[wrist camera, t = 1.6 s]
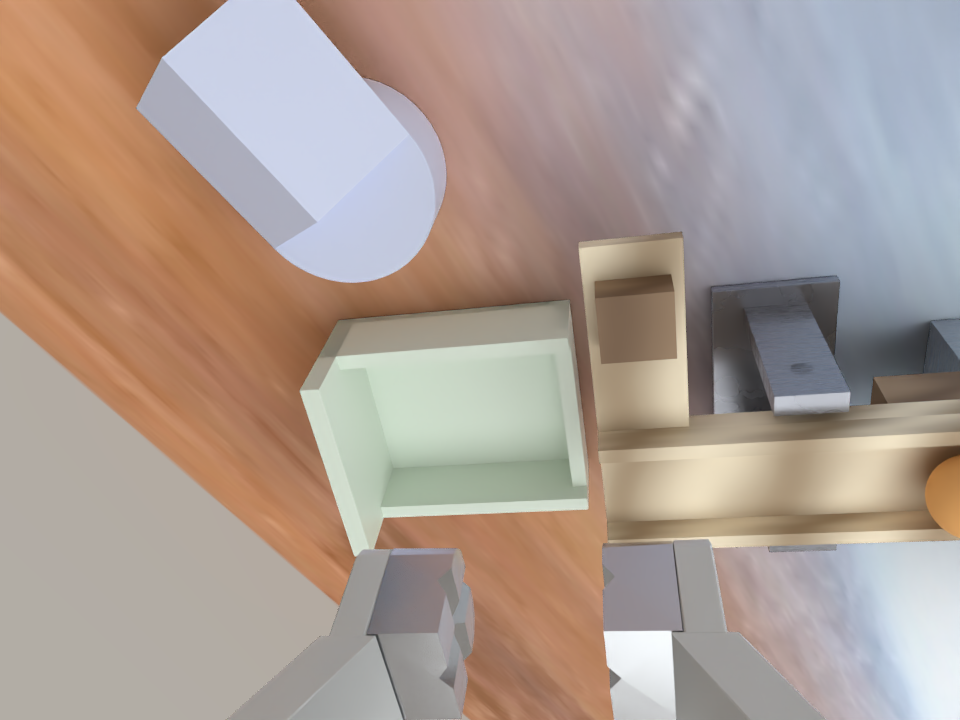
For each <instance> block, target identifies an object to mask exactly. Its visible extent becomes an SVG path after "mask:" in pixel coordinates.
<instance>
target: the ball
mask: <svg viewBox="0 0 960 720" xmlns="http://www.w3.org/2000/svg"><path fill="white" fill-rule="evenodd" d="M925 500H926V505H927V508H928V510H929V512H930V514H931V516H932V517H933V519H934V520H935V521H936V523H937V524H938V525H939V526H940V527H942V528H943V529H944V530H945V531H947V532H948V533H950V534H952V535H953V536H956V537H958V538H960V455H957V456H954V457H951V458H949V459H947V460H945V461H943V462H942V463H941V464H939V465H938V466H937V467H936V468H935V469H934V470H933V471H932V473H931V475H930V476H929V478H928V480H927V484H926V488H925Z"/></svg>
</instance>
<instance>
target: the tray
mask: <svg viewBox="0 0 960 720" xmlns="http://www.w3.org/2000/svg"><path fill="white" fill-rule="evenodd" d="M300 394H301V397H302V400H303V403H304V406H305V409H306V412H307V415H308V418H309V421H310V424H311V427H312V430H313V433H314V436H315V439H316V442H317V445H318V448H319V451H320V454H321V457H322V460H323V463H324V466H325V469H326V472H327V475H328V478H329V481H330V484H331V487H332V490H333V493H334V496H335V499H336V502H337V505H338V508H339V511H340V514H341V517H342V520H343V523H344V526H345V529H346V532H347V535H348V538H349V542H350V545H351V548H352V551H353V554H354V556H358V555H359V553H360V552H361V551H362V550H363V549H374V547H375V544H376V541H377V537H378V534H379V531H380V528H381V525H382V522H383V518H389V517H414V516H439V515H463V514H488V513H512V512H537V511H562V510H586V509H588V474H589V463H588V454H587V446H586V437H585V429H584V420H583V411H582V403H581V394H580V385H579V377H578V368H577V359H576V351H575V342H574V333H573V325H572V316H571V308H570V300H560V301H549V302H537V303H526V304H515V305H504V306H492V307H481V308H470V309H459V310H447V311H436V312H425V313H414V314H402V315H391V316H380V317H368V318H357V319H346V320H338V322H337V324H336V325H335V327H334V329H333V331H332V333H331V334H330V336H329V338H328V340H327V342H326V344H325V345H324V347H323V349H322V351H321V353H320V354H319V356H318V358H317V360H316V362H315V364H314V365H313V367H312V369H311V371H310V373H309V375H308V376H307V378H306V380H305V382H304V384H303V385H302V387H301V389H300Z"/></svg>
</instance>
